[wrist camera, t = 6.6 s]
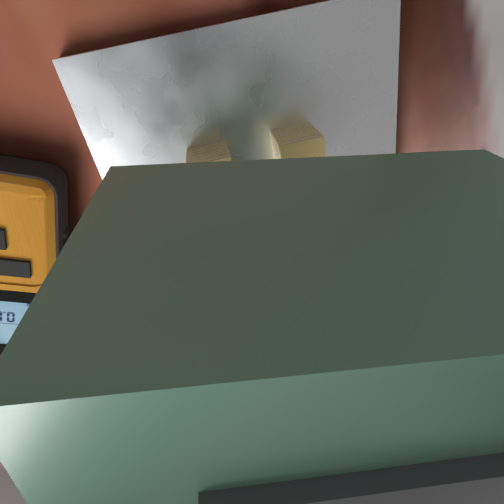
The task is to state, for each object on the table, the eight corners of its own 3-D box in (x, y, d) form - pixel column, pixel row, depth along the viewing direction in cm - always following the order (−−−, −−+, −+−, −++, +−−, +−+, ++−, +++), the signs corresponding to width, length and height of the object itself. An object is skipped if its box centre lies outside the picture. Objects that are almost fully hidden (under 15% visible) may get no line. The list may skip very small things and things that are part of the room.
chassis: (58, 57, 20) (30, 68, 17) (391, -14, 20) (432, -18, 17) (176, 343, 32) (174, 384, 29) (384, 296, 32) (407, 331, 29)
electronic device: (76, 161, 24) (61, 181, 21) (75, 343, 32) (63, 376, 29) (-83, 134, 22) (-123, 152, 19) (-43, 336, 29) (-67, 370, 27)
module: (110, 166, 10) (-49, 438, 3) (484, 149, 11) (888, 335, 4) (168, 447, 16) (150, 723, 10) (399, 420, 17) (516, 654, 11)
